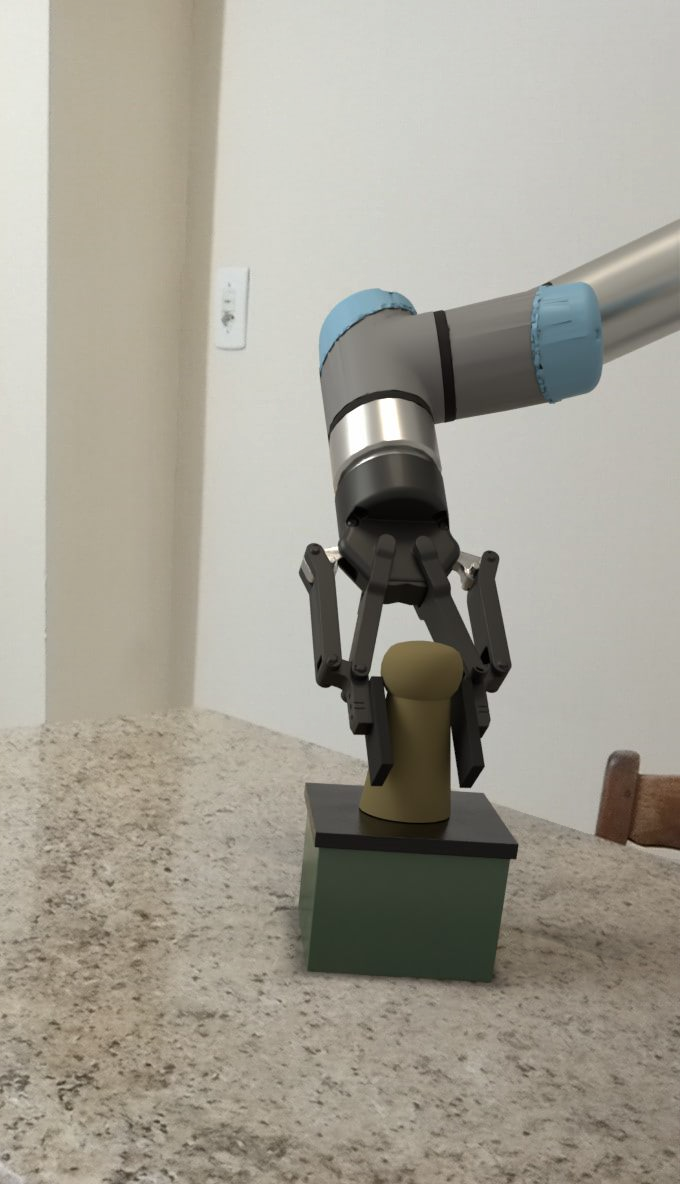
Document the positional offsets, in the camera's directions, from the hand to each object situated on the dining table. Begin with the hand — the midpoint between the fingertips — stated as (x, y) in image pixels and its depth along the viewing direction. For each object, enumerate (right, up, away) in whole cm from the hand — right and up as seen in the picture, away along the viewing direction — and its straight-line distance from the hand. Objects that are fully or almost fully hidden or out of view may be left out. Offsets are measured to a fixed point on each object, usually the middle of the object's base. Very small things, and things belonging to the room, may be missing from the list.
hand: (427, 775), depth 87 cm
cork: (0, -2, +5) cm, 5 cm away
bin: (-1, -11, +8) cm, 13 cm away
